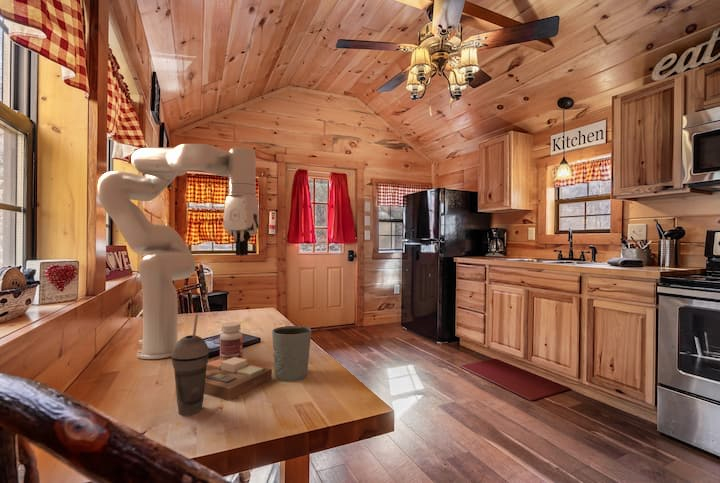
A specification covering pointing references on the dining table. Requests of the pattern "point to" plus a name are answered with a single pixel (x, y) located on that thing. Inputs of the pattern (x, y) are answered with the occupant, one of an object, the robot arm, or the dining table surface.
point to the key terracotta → (215, 364)
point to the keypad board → (232, 382)
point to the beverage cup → (190, 372)
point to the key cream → (233, 364)
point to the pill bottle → (231, 341)
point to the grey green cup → (291, 352)
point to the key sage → (250, 371)
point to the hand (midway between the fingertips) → (241, 255)
